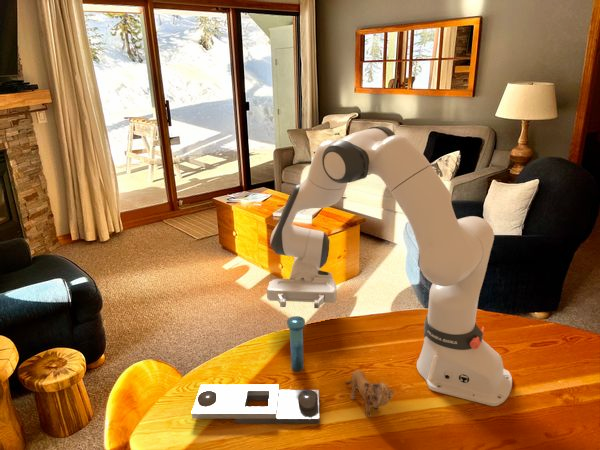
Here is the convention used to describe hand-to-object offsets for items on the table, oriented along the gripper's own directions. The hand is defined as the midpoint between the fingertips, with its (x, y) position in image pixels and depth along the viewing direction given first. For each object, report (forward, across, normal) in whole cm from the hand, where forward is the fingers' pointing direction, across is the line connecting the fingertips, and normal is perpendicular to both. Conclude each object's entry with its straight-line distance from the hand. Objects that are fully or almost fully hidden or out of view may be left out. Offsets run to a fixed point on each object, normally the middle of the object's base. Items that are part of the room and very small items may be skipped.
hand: (299, 305), depth 127 cm
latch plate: (+28, -7, +11) cm, 30 cm away
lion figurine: (+24, +18, +11) cm, 32 cm away
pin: (+12, 0, +11) cm, 16 cm away
